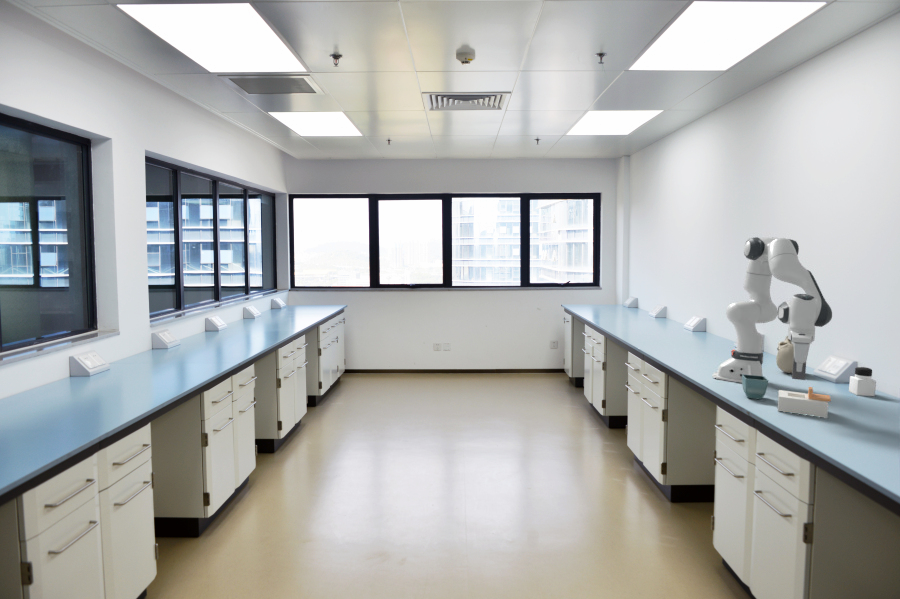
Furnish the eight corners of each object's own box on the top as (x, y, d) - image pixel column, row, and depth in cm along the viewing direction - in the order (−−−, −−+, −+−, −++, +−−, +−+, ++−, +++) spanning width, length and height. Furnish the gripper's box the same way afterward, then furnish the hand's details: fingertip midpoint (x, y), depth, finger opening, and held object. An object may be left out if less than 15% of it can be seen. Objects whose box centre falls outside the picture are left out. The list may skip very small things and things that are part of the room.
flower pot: (762, 396, 236) (764, 375, 235) (767, 401, 227) (768, 380, 227) (740, 394, 239) (741, 374, 238) (744, 399, 230) (745, 378, 229)
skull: (803, 372, 284) (806, 334, 282) (804, 377, 271) (807, 338, 270) (775, 369, 291) (778, 332, 289) (774, 374, 278) (777, 336, 276)
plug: (792, 378, 213) (794, 348, 212) (792, 376, 217) (794, 347, 216) (804, 380, 211) (807, 349, 210) (804, 378, 214) (806, 348, 213)
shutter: (808, 398, 209) (809, 390, 209) (807, 394, 215) (808, 386, 215) (830, 401, 206) (831, 392, 206) (829, 397, 212) (829, 389, 211)
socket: (777, 411, 213) (778, 396, 212) (777, 404, 223) (778, 390, 223) (826, 418, 205) (828, 403, 204) (824, 410, 215) (825, 395, 214)
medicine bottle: (875, 396, 237) (877, 369, 236) (856, 395, 239) (859, 368, 238) (866, 392, 244) (868, 366, 243) (848, 391, 246) (850, 365, 245)
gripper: (791, 331, 223) (788, 364, 224) (792, 338, 205) (789, 373, 207) (809, 333, 219) (807, 366, 221) (812, 339, 202) (809, 376, 203)
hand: (798, 370), depth 213 cm, fingers closed on plug, 4 cm apart
